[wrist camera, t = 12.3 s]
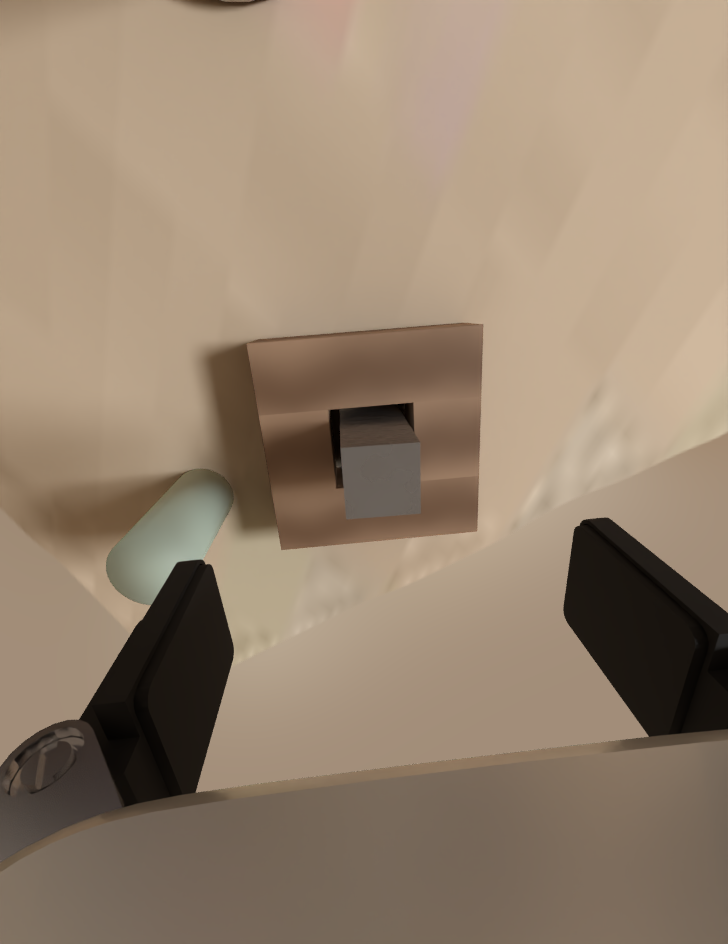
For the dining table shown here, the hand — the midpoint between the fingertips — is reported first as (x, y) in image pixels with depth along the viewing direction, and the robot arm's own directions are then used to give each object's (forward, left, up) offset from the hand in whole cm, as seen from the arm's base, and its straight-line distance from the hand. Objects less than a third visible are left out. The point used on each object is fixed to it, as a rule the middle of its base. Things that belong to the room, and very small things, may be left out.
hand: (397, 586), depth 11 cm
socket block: (+2, +1, -21) cm, 21 cm away
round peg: (+6, -12, -21) cm, 25 cm away
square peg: (+2, +1, -21) cm, 21 cm away
